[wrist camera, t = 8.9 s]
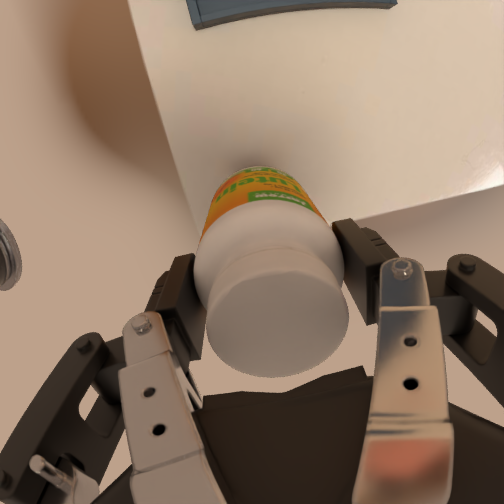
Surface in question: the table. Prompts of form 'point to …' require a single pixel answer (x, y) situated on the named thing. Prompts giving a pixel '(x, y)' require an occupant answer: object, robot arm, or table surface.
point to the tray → (265, 8)
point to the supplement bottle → (270, 276)
